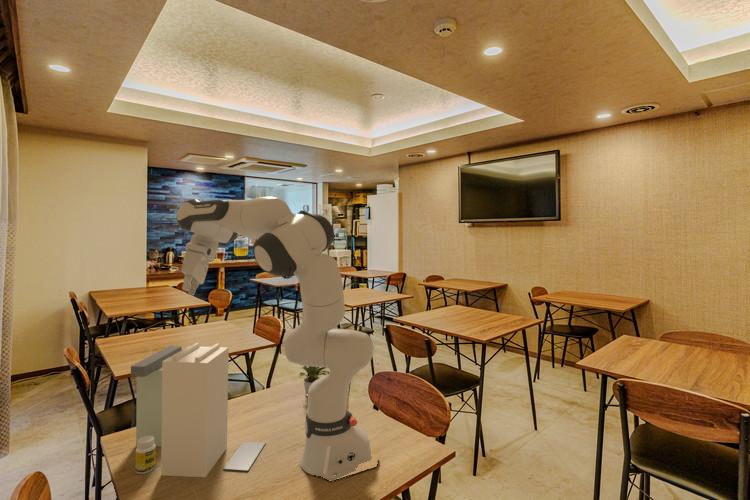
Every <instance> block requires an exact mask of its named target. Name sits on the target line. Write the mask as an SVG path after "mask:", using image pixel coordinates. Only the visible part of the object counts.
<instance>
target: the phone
mask: <svg viewBox="0 0 750 500" xmlns="http://www.w3.org/2000/svg"><path fill="white" fill-rule="evenodd" d="M265 446H266V442H258V441H257V442H255V441H243V442H242V443H241V444H240V446H239V447H238V448H237V449H236V450H235V452H234V453H233V455H232V456H231V457H230V458H229V460H228V461H227V463H226V464H225V465H224V467H223V468H222V470H223V471H226V472H228V471H229V472H239V473H240V472H242V473H249V471H250V469H251V468H252V466H253V465H254V463H255V462H256V460H257V458H258V457H259V455H260V454H261V452H262V451H263V449H264V447H265Z"/></svg>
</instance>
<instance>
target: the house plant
mask: <svg viewBox="0 0 750 500" xmlns="http://www.w3.org/2000/svg"><path fill="white" fill-rule="evenodd" d="M302 369H303V370H304V371H305V372H306V373H307V374H306V373H305V372H299V374H298V376H299V377H303V376H305V378H304V379H303V384H304V391H305V395H306V394H308V390H309V387H310V386H311V384H312V383H313V382H314V381H316V380H317V379H319V378H320V377H319V376H321V375H323V376H326V375H327V374H328V370H325V369H326V368H325V367H311V366H302Z"/></svg>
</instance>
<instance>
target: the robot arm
mask: <svg viewBox="0 0 750 500" xmlns="http://www.w3.org/2000/svg"><path fill="white" fill-rule="evenodd" d="M175 219H176V222H177V223H178V226H179V227H180V229H181V230H183V231H187V232H191V233H194V234H193V235H192V237H191V238H190V241H189V242H187V243H186V245H185V247H184V248H185V254H184V257H183V261H182V265H181V272H182V274H184V277H183V283H182V287H181V289H182V290H183V291H185V292H187V294H188V295H189V296H194V295H195V293H196V291H197V289H198V288H199V286H200V285H204V283H205V280H206V276H207V273H208V270H209V263H210V262H214V261H215V258H216V255H217V253H218V249H219V243H223V244H229V243H231V242H233V241H235V240H236V238H237V237H238V235H240V236H243V237H245V238H250V239H256V240H255V242H254V243H253V247H252V248H253V250H252V251H253V252H252V253H253V256H254V259H255V262H256V264H257V265H258V266H259V268H260V269H261V270H263V272H265V273H268V274H269V275H272V276H276V277H282V278H283V279H285V280H287V279H292V278H293V276H295V277H296V278H297V280H298V283H299V288H300V289H299V290H300V296H301V304H302V319H301V322H300V324H298V326H296V327H295V328H292V329H291V330H290V331H289V333H287V335H286V337H285V339H284V342H283V352H284V355H285V359H287V361H288V362H289V363H293V364H296V365H300V366H302V367H304V366H307V367H309V366H311V367H320V368H322V367H325V369H328V371H329V374H328V373H327V374H328V375H327V374H326V375H323V376H322V377H319V379H317V380H316V381H314V382H313V383H312V384H311V386H310V387H309V390H308V396H307V412H306V414H305V420H304V421H305V422H304V423H305V425H304V430H305V431H304V432H305V441H304V448H303V451H302V456H301V459H300V462H299V463H300V466H301V469H302V470H303V471H304V472H305V473H307V474H309V475H311V476H314V475H316V476H315V477H318V476H321V477H320V478H322V477H323V478H322V479H324V478H325V479H327V480H335V479H337V478H340V477H342V476H344V475H347V474H349V473H351V472H354V471H356V469H355V468H357V467H358V465H359V464H361V463H364V462H367V461H370V460H371V459H372V456H371V446H370V444H371V443H370V439H369V436H368V435H367V433H366V432H365V431H364V429H362V428H361V427H359V426H358V420H357V419H356V417H355V416H353V413H352V412H350V411H349V409H348V410H347V409H346V401H347V392H348V388H349V389H350V386H349V385H350V384H351V382H352V380H353V379H354V378H355V376H356V375H357V374H358V373H359V372H360V371H362V370H363V369H365V368H366V367H367V366H368V365H369V364H370V362H371V360H372V358H373V356H374V352H375V351H374V343H373V341H372V338H371V336H370V335H369V334H368V333H366V332H363V331H359V330H356V329H346V328H345V329H344V328H337V326H338V325H339V324H341V323H342V321H343V320H344V317H345V314H346V308H345V307H346V306H345V295H344V293H345V292H344V286H343V280H342V276H341V271H340V267H339V265H338V262H337V260H336V259H335V258H334V257H333V256H332V255H329V254H327V253H323V252H325V251H326V250H327V249H329V248H330V247H331V246H332V244H333V242H334V240H335V231H334V227H333V226H332V223H331V222H330V220H329V219H328V218H327V217H325V216H323V215H322V214H319V213H317V212H316V213H315V212H314V213H313V212H308V211H306V210H305V209H303V210H300V211H299V212H298V213H297V214H296V213H293V212H292V211H291V209H290V207H289V205H288V203H287V202H286V201H285V200H284V199H281V198H278V197H273V196H260V197H255V198H251V199H239V200H238V199H233V200H232V199H231V200H230V199H228V200H226V199H212V200H211V199H210V200H202V201H200V200H198V199H196V198H192V199H189V200H186V201H184V202H183V203H182V204H181V205H180V206H179V207H178V210H177V213H176V218H175ZM334 475H336V476H334ZM325 479H324V480H325ZM327 480H326V481H327Z"/></svg>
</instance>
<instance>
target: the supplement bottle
mask: <svg viewBox="0 0 750 500" xmlns="http://www.w3.org/2000/svg"><path fill="white" fill-rule="evenodd" d="M156 447H157V446H156V445H155V443H154V437H153V436H144V437H142V438H140V439H139V440H138V441H137V445H136V447H135V448H136V449H135V466H134V467H135V470H134V472H135V474H138V475H144V474H148V473H150V472H152V471H153V470H155V468H156V458H157V457H156V454H157V453H156V452H157V451H156V450H157V449H156Z"/></svg>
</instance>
